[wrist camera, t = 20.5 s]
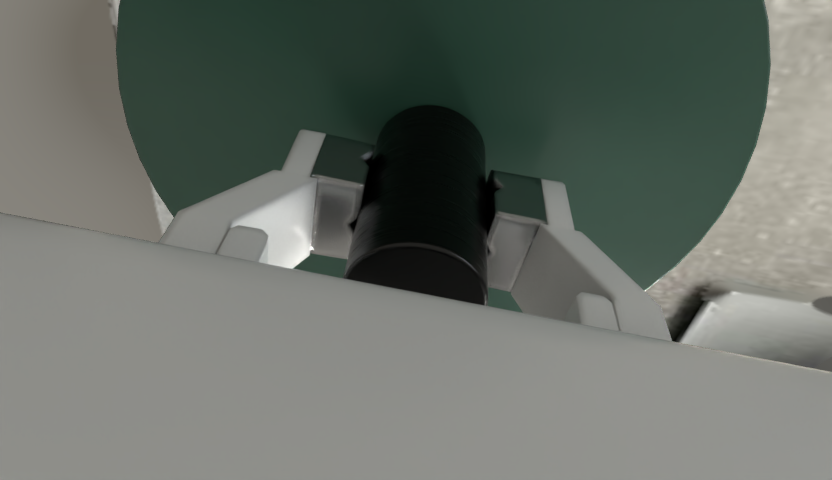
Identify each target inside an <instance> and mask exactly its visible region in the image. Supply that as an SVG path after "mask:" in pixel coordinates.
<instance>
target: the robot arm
mask: <svg viewBox="0 0 832 480" xmlns="http://www.w3.org/2000/svg"><path fill="white" fill-rule="evenodd" d="M374 149H375V145H373V144H369V143H365V142H360V141H356V140H351V139H347V138H343V137H338V136H334V135H329V134H327V135H326V134H325V133H321V132H316V131H311V130H306V129H302V130H300V131H299V133H298V135H297V137H296V139H295V141H294V143H293V146H292V148H291V150H290V152H289V154H288V156H287V159H286V161H285V163H284V165H283V167H282V169H281V171H278V170H272V171H270V172H268V173H265V174H263V175H261V176H258V177H256V178H254V179H251V180H249V181H247V182H245V183H242V184H240V185H238V186H235V187H233V188H231V189H228V190H226V191H224V192H222V193H219V194H217V195H215V196H212V197H210V198H208V199H205V200H203V201H201V202H199V203H196V204H194V205H192V206H189V207H187V208H185V209H182V210H180V211H178V213H177V214H176V216H175V217H174V219H173V220H172V222H171V223H170V225H169V227H168V228H167V230H166V231H165V233H164V234H163V236H162V237H161V239H160V241H159V242H158V243H156V242H151V241H145V240H140V239H135V238H130V237H125V236H120V235H114V234H109V233H104V232H99V231H94V230H89V229H83V228H78V227H73V226H68V225H63V224H57V223H52V222H46V221H41V220H36V219H31V218H26V217H21V216H16V215H11V214H5V213H0V480H832V372H828V371H823V370H818V369H813V368H808V367H802V366H797V365H792V364H787V363H782V362H777V361H771V360H766V359H761V358H756V357H751V356H745V355H740V354H735V353H730V352H725V351H719V350H714V349H709V348H704V347H699V346H693V345H688V344H683V343H678V342H673V341H672V339H671V336H670V333H669V330H668V327H667V324H666V321H665V318H664V315H663V312H662V309H661V306H660V305H659V304H658V303H657V302H656V301H655V300H653V299H652V298H651V297H650V296H649V295H648V294H647V293H646V292H645V291H644V290H643V289H642V288H641V287H640V286H639V285H638V284H636V283H635V282H634V281H633V280H632V279H631V278H630V277H629V276H628V275H627V274H626V273H625V272H624V271H623V270H622V269H621V268H619V267H618V266H617V265H616V264H615V263H614V262H613V261H612V260H611V259H610V258H609V257H608V256H607V255H606V254H605V253H604V252H602V251H601V250H600V249H599V248H598V247H597V246H596V245H595V244H594V243H593V242H592V241H591V240H590V239H589V238H588V237H586V236H585V235H584V234H583V233H582V232H580V231H575V229H574V224H573V219H572V215H571V210H570V205H569V201H568V196H567V191H566V187H565V184H564V183H563V182H559V181H553V180H547V179H541V178H535V177H529V176H524V175H518V174H513V173H507V172H502V171H496V170H491V171H490V173H489V176H488V178H487V181H486V205H487V253H488V287H490V288H494V289H499V290H503V291H508V292H511V295H512V297H513V298H514V300H515V301H516V303H517V304H518V306H519V307H520V309H521V310H522V312H523V313H521V312H516V311H511V310H506V309H500V308H495V307H490V306H485V305H480V304H474V303H469V302H464V301H459V300H453V299H448V298H443V297H438V296H433V295H427V294H422V293H417V292H412V291H407V290H401V289H396V288H391V287H386V286H381V285H375V284H370V283H365V282H360V281H354V280H349V279H344V278H339V277H334V276H328V275H323V274H318V273H313V272H308V271H302V270H297V269H293V268H294V267H295V266H296V265H298V264H299V263H300V262H302V261H303V260H304V259H306V258H307V257H308V256H309V255H310V253H312V254H318V255H324V256H330V257H336V258H342V259H348V255H349V251H350V247H351V243H352V239H353V235H354V231H355V227H356V223H357V219H358V216H359V213H360V210H361V206H362V202H363V198H364V194H365V190H366V184H367V180H368V178H369V174H370V170H371V166H372V162H373V156H374Z"/></svg>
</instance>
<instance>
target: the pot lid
mask: <svg viewBox="0 0 832 480" xmlns="http://www.w3.org/2000/svg"><path fill="white" fill-rule="evenodd" d="M116 55H117V67H118V80H119V90H120V94H121V99H122V103H123V108H124V112H125V117H126V121H127V125H128V128H129V131H130V134H131V136H132V139H133V142H134V144H135V147H136V150H137V153H138V155H139V158H140V161H141V162H142V164H143V166H144V168H145V170H146V172H147V174H148V176H149V178H150V180H151V182H152V184H153V186H154V188H155V190H156V191H157V193H158V194H159V196H160V197H161V199H162V200H163V202H164V203H165V205H166V206H167V208H168V209H169V211H170V212H171V214H172V215H173V217H175V216H176V214H177V213H178V211H180V210H182V209H185V208H187V207H189V206H192V205H194V204H196V203H199V202H201V201H203V200H205V199H208V198H210V197H212V196H215V195H217V194H219V193H222V192H224V191H226V190H228V189H231V188H233V187H235V186H238V185H240V184H242V183H245V182H247V181H249V180H251V179H254V178H256V177H258V176H261V175H263V174H265V173H268V172H270V171H272V170H278V171H281V169H282V167H283V165H284V163H285V161H286V159H287V156H288V154H289V152H290V150H291V148H292V146H293V143H294V141H295V139H296V137H297V135H298V133H299V131H300V130H302V129H306V130H311V131H316V132H321V133H325V134H326V135H327V134H329V135H334V136H338V137H343V138H347V139H351V140H356V141H360V142H365V143H369V144H373V145H375V149H374V156H373V162H372V166H371V170H370V174H369V178H368V180H367V184H366V190H365V194H364V198H363V202H362V206H361V210H360V213H359V216H358V219H357V223H356V227H355V231H354V235H353V239H352V243H351V247H350V251H349V255H348V259H342V258H336V257H330V256H324V255H318V254H312V253H310V255H309V256H308V257H307V258H306V259H304V260H303V261H302V262H300V263H299V264H298V265H296V266H295V267H294V268H293V269H297V270H302V271H308V272H313V273H318V274H323V275H328V276H334V277H339V278H344V279H349V280H354V281H360V282H365V283H370V284H375V285H381V286H386V287H391V288H396V289H401V290H407V291H412V292H417V293H422V294H427V295H433V296H438V297H443V298H448V299H453V300H459V301H464V302H469V303H474V304H480V305H485V306H490V307H495V308H500V309H506V310H511V311H516V312H521V313H523V312H522V310H521V309H520V307H519V306H518V304H517V303H516V301H515V300H514V298H513V297H512V295H511V292H508V291H503V290H499V289H494V288H490V287H488V253H487V205H486V181H487V178H488V176H489V173H490V171H491V170H496V171H502V172H507V173H513V174H518V175H524V176H529V177H535V178H541V179H547V180H553V181H559V182H563V183H564V184H565V187H566V191H567V196H568V201H569V205H570V210H571V215H572V219H573V224H574V229H575V231H580V232H582V233H583V234H584V235H585V236H586V237H588V238H589V239H590V240H591V241H592V242H593V243H594V244H595V245H596V246H597V247H598V248H599V249H600V250H601V251H602V252H604V253H605V254H606V255H607V256H608V257H609V258H610V259H611V260H612V261H613V262H614V263H615V264H616V265H617V266H618V267H619V268H621V269H622V270H623V271H624V272H625V273H626V274H627V275H628V276H629V277H630V278H631V279H632V280H633V281H634V282H635V283H636V284H638V285H639V286H640V287H641V288H642V289H643V290H644V291H645V290H647V289H648V288H650V287H651V286H652V285H654V284H655V283H656V282H657V281H658V280H660V279H661V278H662V277H663V276H665V275H666V274H667V273H668V272H670V271H671V270H672V269H673V268H674V267H676V266H677V265H678V264H679V263H680V262H681V261H682V260H683V259H684V258H685V257H686V256H687V255H688V254H689V253H690V251H691V250H692V249H693V248H694V247H695V246H696V245H697V244H698V243H699V242H700V241H701V240H702V239H703V237H704V236H705V235H706V233H707V232H708V231H709V230H710V228H711V227H712V226H713V224H714V223H715V222H716V221H717V219H718V218H719V217H720V215H721V214H722V213H723V211H724V209H725V208H726V206H727V204H728V202H729V201H730V199H731V197H732V196H733V194H734V192H735V191H736V189H737V187H738V185H739V184H740V182H741V180H742V178H743V175H744V173H745V170H746V168H747V166H748V163H749V161H750V159H751V156H752V154H753V151H754V149H755V147H756V143H757V140H758V136H759V132H760V128H761V124H762V121H763V117H764V113H765V109H766V103H767V94H768V84H769V75H770V66H771V61H770V41H769V21H768V16H767V11H766V7H765V2H764V0H120V4H119V11H118V27H117V42H116Z"/></svg>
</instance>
